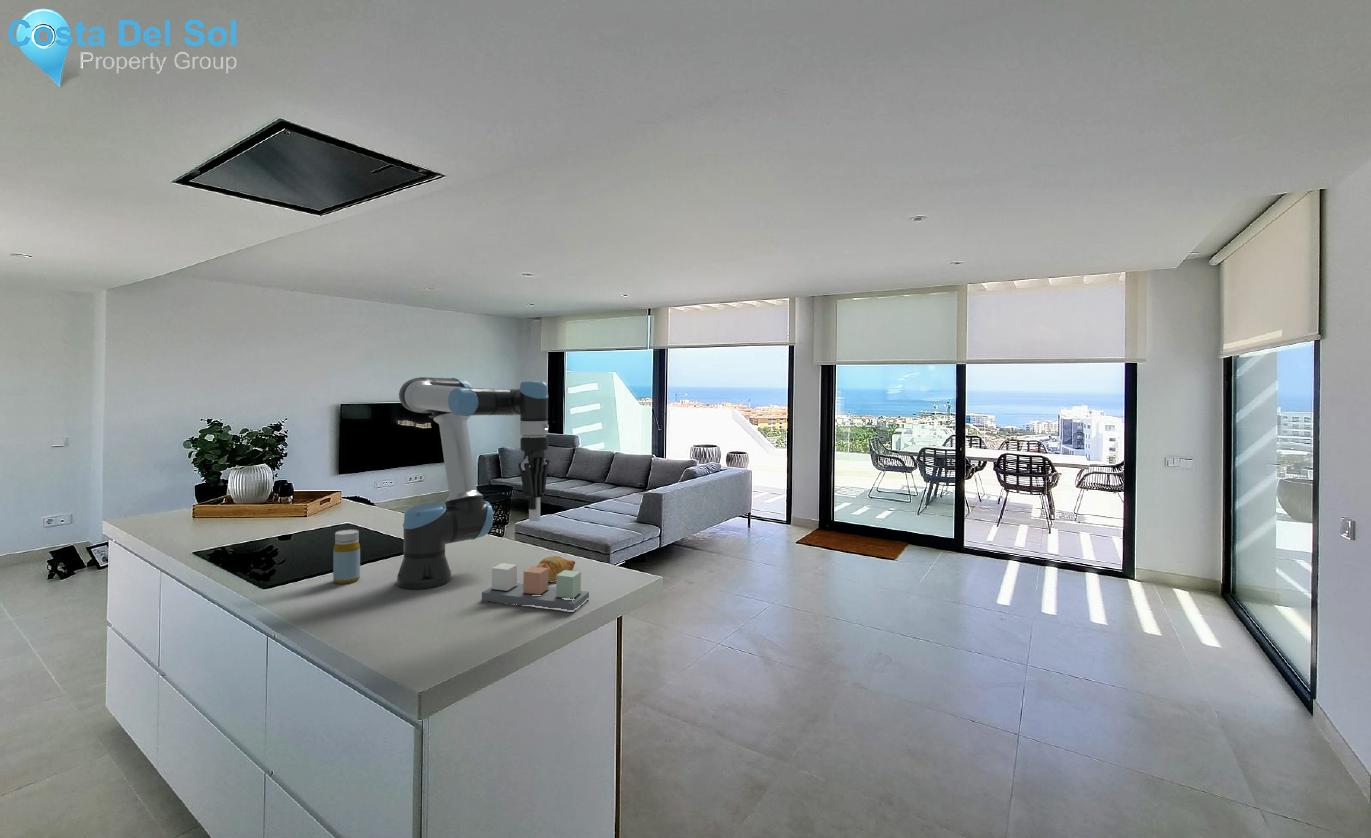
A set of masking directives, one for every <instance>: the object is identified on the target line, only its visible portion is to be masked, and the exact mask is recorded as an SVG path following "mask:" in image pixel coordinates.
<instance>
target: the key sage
mask: <svg viewBox="0 0 1371 838" xmlns="http://www.w3.org/2000/svg"><path fill="white" fill-rule="evenodd" d="M581 576H582V572H581V571H577V570H572V571H569V570H564V571H562V572H561V573H559V574H558V575H556V581H555V582H556V583H555V588H556V597H562V598H570V599H573V598H574V597H576V596H577V595H578V594H580V591H582V590H581V587H582V586H581V585H582V581H581V580H582V577H581Z"/></svg>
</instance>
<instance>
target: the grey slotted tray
mask: <svg viewBox="0 0 1371 838" xmlns="http://www.w3.org/2000/svg"><path fill="white" fill-rule="evenodd" d="M523 584H524V583H520V582H517V585H516V586H515V587H513V588H511V589H510V590H508V591H505V590H497V589H492V586H490V587H489V588H487V589H486V590H483V591H482V592H481V602H485V601H491V602H490V603H493V602H498V603H497V604H500V603H507V604H506V605H508V604H515V605H514V606H516V604H517V605H535V606H542V607H548V608H561V609H567V610H574V609H575V608H577V607H578V606H579V605H581V604H582V603H583V602H584V601H585V600H586V599H587V598H589V599H590V591H586V590H581V591H580V594H578V595H577V596H576V597H574V599H575V600H573V601H572V600H564V599H562V597H556V587H552V586H548V589H547V590H546V591H544V592H543V593H541V594H540V595H541V596H532V595H538V594H530V593H523Z"/></svg>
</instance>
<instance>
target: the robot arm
mask: <svg viewBox="0 0 1371 838" xmlns="http://www.w3.org/2000/svg"><path fill="white" fill-rule="evenodd" d="M519 385H520V386H519V388H514V389H513V388H484V387H483V388H481V387H479V388H478V387H473V386H472V385H471V383H470V382H468V381H467V380H465V379H461V378H455V377H451V378H450V377H449V378H448V377H446V378H444V377H421V376H420V377H413V378H411V379H409V380H407V381H405V382H404V383H403V384H402V385H401V387H400V388H399V392H398V398H399V402H400V403H401V405H402V406H403V407H404V408H405V409H407V410H408V411H411V412H414V413H418V414H419V413H420V414H432V419H433V421H434V422H435V423H436V424H438V426H439V434H440V439H441V447H442V454H443V462H444V468H445V474H446V476H445V477H446V482H447V483H446V484H447V491H448V497H447V498H446V499H445V501H444V502H440V501H439V502H436V501H434V502H427V503H421V504H417V505H415V506H412V507H410V508H408V509H407V510H406V511H405V513H404V516H403V517H404V518H403V522H402V523H403V524H402V527H403V559H402V561H401V565H400V567H399V570H398V573H397V575H396V585H397V586H398V587H400V588H403V589H408V590H409V589H410V590H422V589H425V590H426V589H431V588H435V587H439V586H443V585H445V584H448V583H449V582H450V581H451V580H452V570H451V569H450V566H449V565H450V564H449V563H448V559H447V556H446V544H447V545H448V544H453V543H459V542H464V541H469V540H471V541H472V540H475V539H479V538H483V537H485V536H486V535H488V534H489V532H490V530H491V528H492V526H493V523H494V512H493V508H492V505H491V503H490V502H488V501H486V500H484V496H483V494H482V493H480V492H479V491H478V488H477V483H476V482H477V480H476V475H475V468H474V462H473V456H472V448H471V443H470V442H471V441H470V436H469V427H468V420H469V418H470V417H471V416H519V419H520V421H519V423H520V424H519V425H520V426H519V427H520V428H519V429H520V431H519V432H520V433H519V435H520V436H522V437H521V438H520V441H519V442H520V443H519V444H520V447H519V448H520V451H522V452H524V456H523V462H519V463H518V465H517V466H518V469H519V470H520V478H521V484H522V491H523V492H522V493H523V496H524V497H525V498H528V521H529V522H540V521H541V498H543V497H545V493H546V487H547V486H546V485H547V476H548V468H549V465H550V459H546V456H545V451H548V450H549V438H548V437H547V436H548V435H549V424H548V423H549V420H548V419H549V392H548V391H549V390H548V384H547V383H546V381H541V380H540V381H537V380H534V381H533V380H527V381H526V380H523V381H521V382H520V384H519Z"/></svg>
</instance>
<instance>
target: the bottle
mask: <svg viewBox="0 0 1371 838" xmlns="http://www.w3.org/2000/svg"><path fill="white" fill-rule="evenodd" d="M359 533H360V532H359V530H357V529H343V530H338V531H336V532H335V533H334V547H333V551H332V552H333V554H332V555H333V556H332V558H333V559H332V561H333V564H332V565H333V571H332V572H333V573H332V574H333V576H332V577H333V583H336V584H337V585H347V584H352V583H356V582H357V581H358V580H360V578H361V545H360V543H359V540H360V539H359V538H360V537H359Z"/></svg>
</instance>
